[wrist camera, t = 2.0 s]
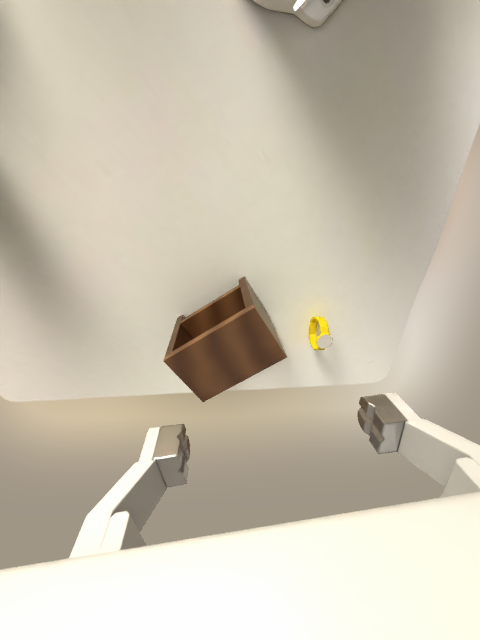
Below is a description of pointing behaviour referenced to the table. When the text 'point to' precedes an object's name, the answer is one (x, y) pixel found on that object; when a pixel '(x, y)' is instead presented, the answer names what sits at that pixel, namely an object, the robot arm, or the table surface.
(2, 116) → the table surface
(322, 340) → the watch
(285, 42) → the table surface
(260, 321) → the box
